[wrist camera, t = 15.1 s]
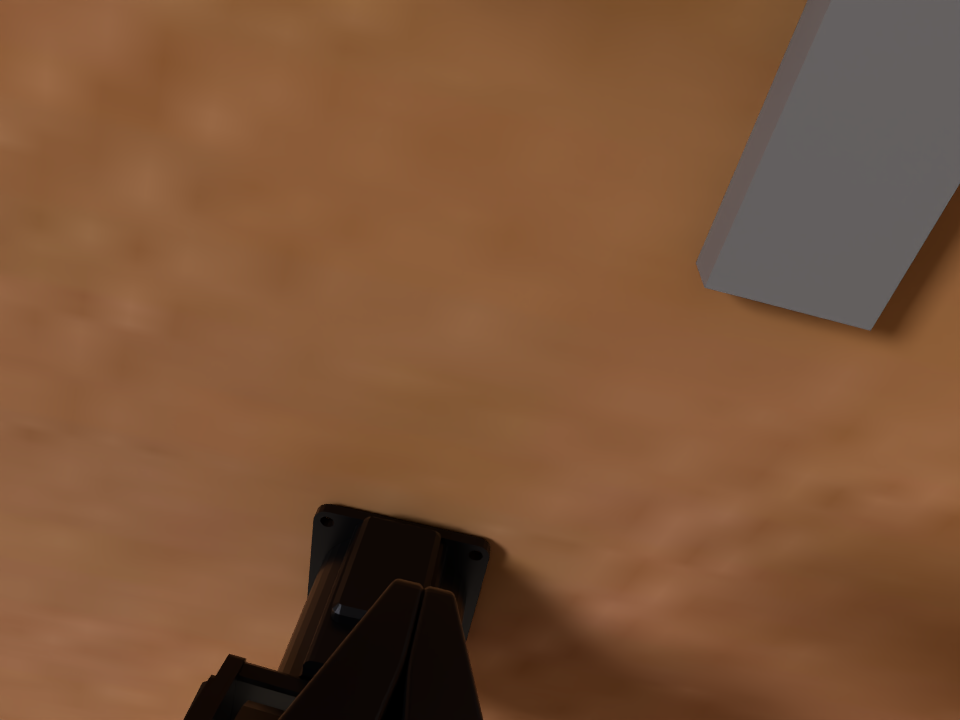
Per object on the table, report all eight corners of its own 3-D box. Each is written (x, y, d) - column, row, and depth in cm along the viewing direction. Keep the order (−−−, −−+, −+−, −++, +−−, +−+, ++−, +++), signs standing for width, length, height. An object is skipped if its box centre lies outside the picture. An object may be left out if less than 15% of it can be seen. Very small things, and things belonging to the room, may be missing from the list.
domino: (870, 330, 18) (1079, -16, 14) (704, 287, 18) (863, -73, 14) (845, 296, 20) (1024, -20, 15) (693, 257, 20) (831, -72, 15)
